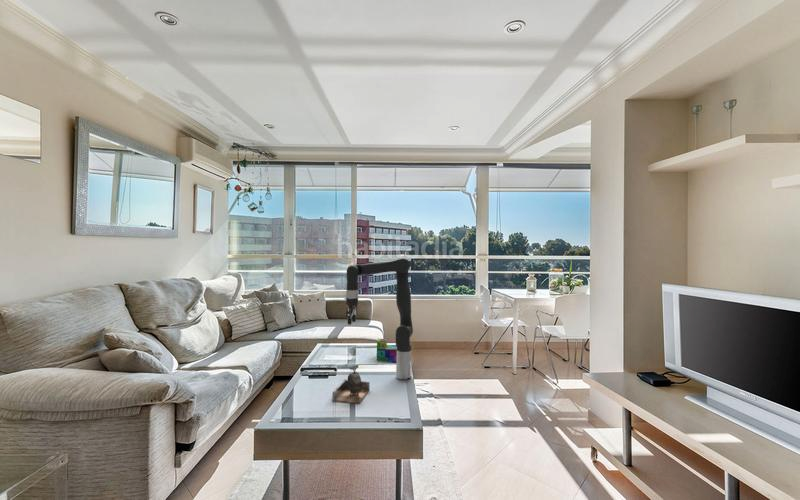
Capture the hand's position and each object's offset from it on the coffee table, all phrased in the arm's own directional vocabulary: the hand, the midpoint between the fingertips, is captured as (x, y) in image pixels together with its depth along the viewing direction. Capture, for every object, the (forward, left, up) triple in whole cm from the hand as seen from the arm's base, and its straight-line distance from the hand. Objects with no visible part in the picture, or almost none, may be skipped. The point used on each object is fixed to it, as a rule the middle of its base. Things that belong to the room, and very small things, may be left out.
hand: (351, 323), depth 239 cm
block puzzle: (-18, -44, -34) cm, 59 cm away
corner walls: (-10, +28, -34) cm, 45 cm away
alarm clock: (-11, +28, -33) cm, 45 cm away
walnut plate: (-10, +28, -34) cm, 45 cm away
